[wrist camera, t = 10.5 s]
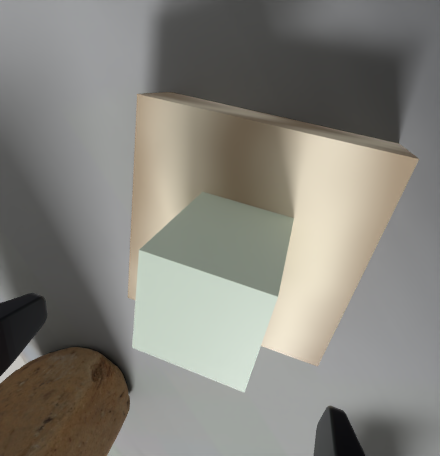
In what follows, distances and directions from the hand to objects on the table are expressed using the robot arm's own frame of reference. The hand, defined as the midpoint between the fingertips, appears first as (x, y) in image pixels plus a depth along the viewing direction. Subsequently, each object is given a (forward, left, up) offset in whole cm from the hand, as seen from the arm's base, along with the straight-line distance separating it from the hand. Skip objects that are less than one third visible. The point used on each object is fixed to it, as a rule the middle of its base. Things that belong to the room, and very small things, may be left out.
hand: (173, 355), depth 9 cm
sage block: (0, 0, -7) cm, 7 cm away
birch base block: (0, 0, -11) cm, 11 cm away
